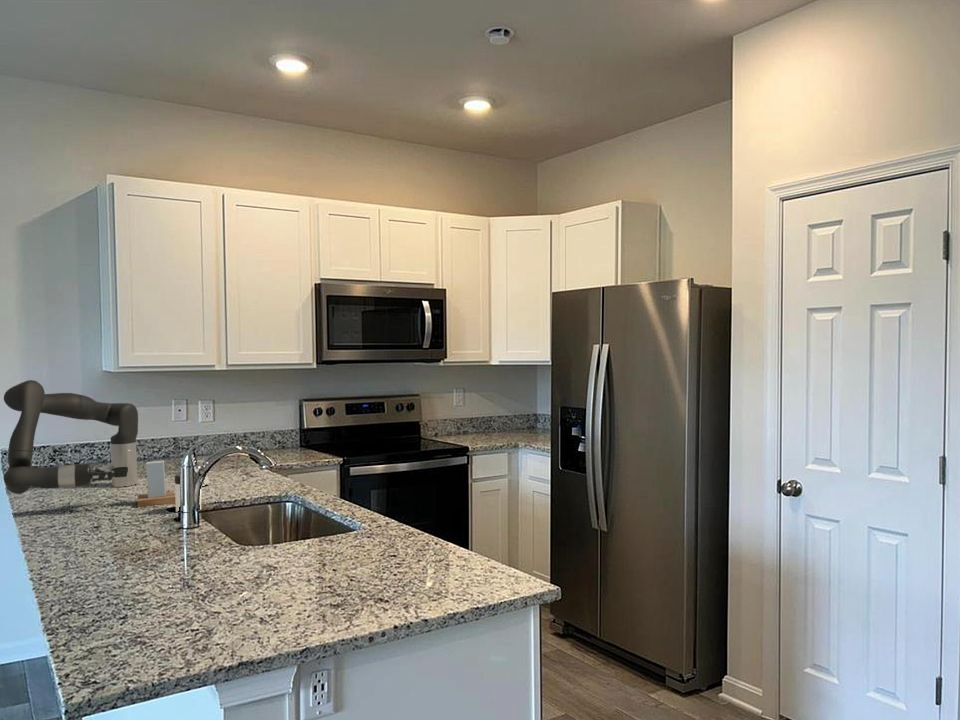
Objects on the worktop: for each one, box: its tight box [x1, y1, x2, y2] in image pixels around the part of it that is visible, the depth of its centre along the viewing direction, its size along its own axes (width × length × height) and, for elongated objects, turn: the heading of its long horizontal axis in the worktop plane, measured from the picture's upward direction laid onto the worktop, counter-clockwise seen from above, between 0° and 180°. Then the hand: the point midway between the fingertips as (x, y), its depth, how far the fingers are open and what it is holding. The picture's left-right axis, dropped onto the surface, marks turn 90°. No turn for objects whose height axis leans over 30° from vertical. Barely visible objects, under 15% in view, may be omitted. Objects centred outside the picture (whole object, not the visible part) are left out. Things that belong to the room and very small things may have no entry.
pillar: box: [145, 460, 167, 498], centre depth 255 cm, size 6×6×12 cm
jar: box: [174, 473, 202, 513], centre depth 241 cm, size 9×8×12 cm
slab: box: [137, 490, 176, 508], centre depth 255 cm, size 12×12×3 cm
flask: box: [196, 459, 211, 484], centre depth 285 cm, size 7×7×10 cm
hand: (127, 471), depth 251 cm, fingers open, 8 cm apart
